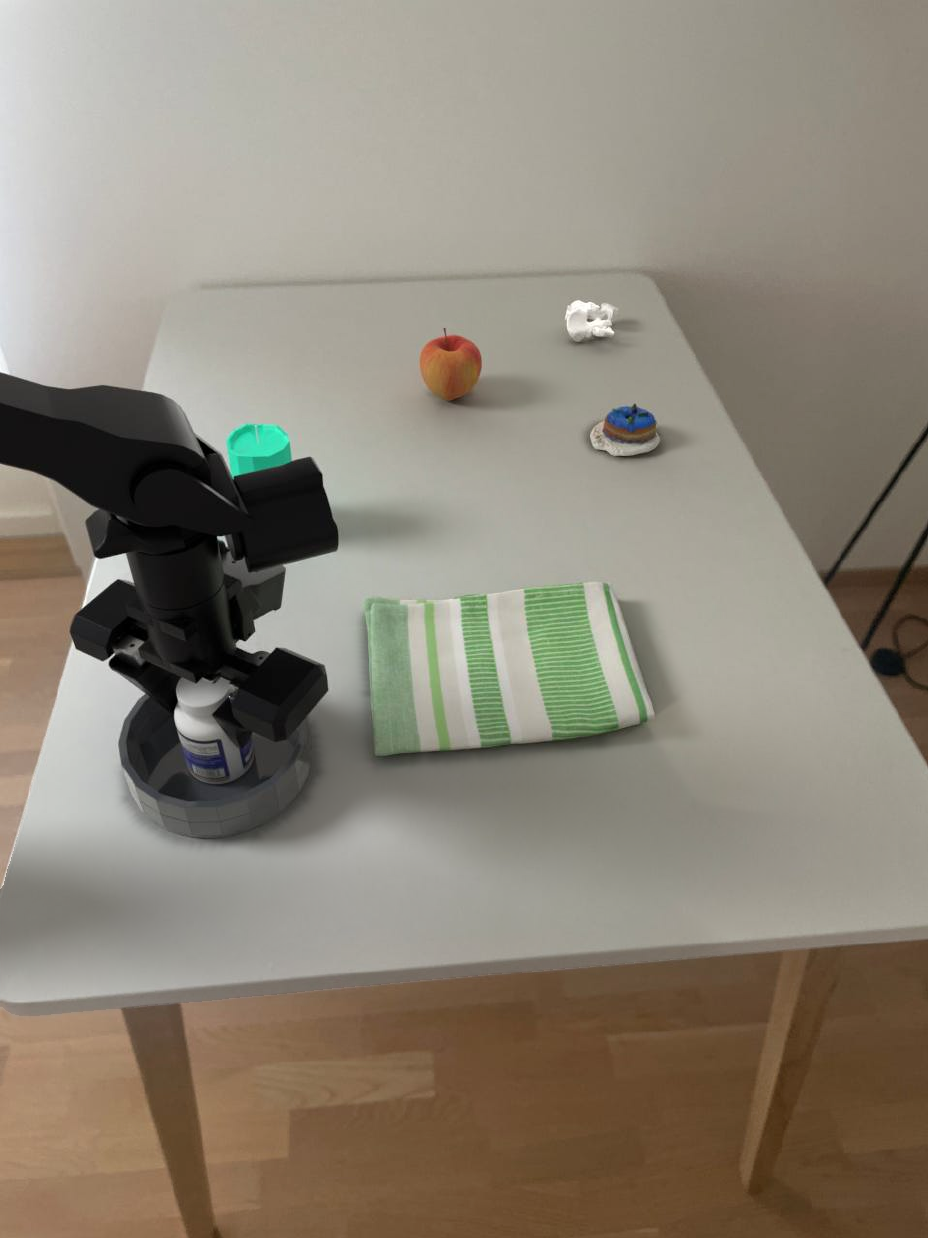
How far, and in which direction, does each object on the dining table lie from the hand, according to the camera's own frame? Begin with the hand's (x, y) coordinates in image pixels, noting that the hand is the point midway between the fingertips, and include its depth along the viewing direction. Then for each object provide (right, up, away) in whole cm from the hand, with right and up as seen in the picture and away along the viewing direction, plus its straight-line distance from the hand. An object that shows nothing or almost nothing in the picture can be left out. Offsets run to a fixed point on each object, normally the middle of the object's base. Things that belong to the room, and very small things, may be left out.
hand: (214, 730), depth 75 cm
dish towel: (+23, +4, +11) cm, 25 cm away
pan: (0, -3, +3) cm, 4 cm away
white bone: (+36, +47, +55) cm, 81 cm away
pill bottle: (0, -3, +3) cm, 4 cm away
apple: (+18, +36, +43) cm, 59 cm away
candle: (-1, +18, +24) cm, 30 cm away
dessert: (+38, +29, +37) cm, 61 cm away
